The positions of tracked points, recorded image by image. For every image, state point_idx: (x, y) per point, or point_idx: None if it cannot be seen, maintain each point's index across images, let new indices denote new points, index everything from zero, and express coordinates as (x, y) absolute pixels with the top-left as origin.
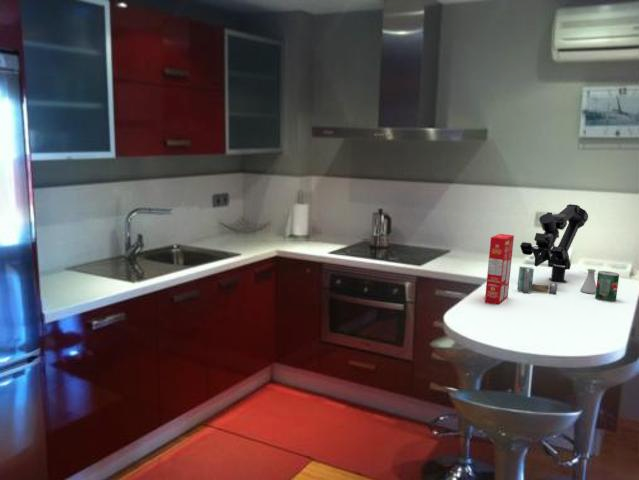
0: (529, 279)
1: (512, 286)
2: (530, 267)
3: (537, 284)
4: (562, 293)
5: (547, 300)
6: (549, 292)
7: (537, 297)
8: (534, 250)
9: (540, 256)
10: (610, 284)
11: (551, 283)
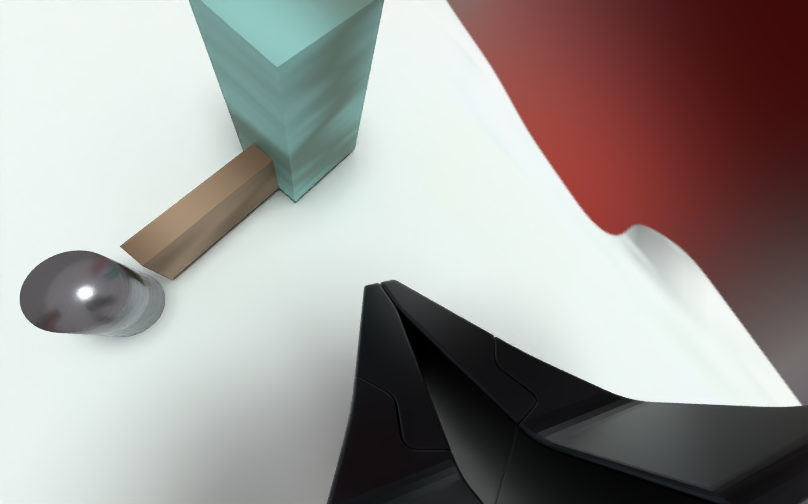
0: None
1: (443, 218)
2: (281, 44)
3: (223, 191)
4: (68, 414)
5: (21, 51)
6: (142, 273)
7: (130, 75)
8: (744, 410)
9: (407, 414)
10: None
11: (112, 301)
